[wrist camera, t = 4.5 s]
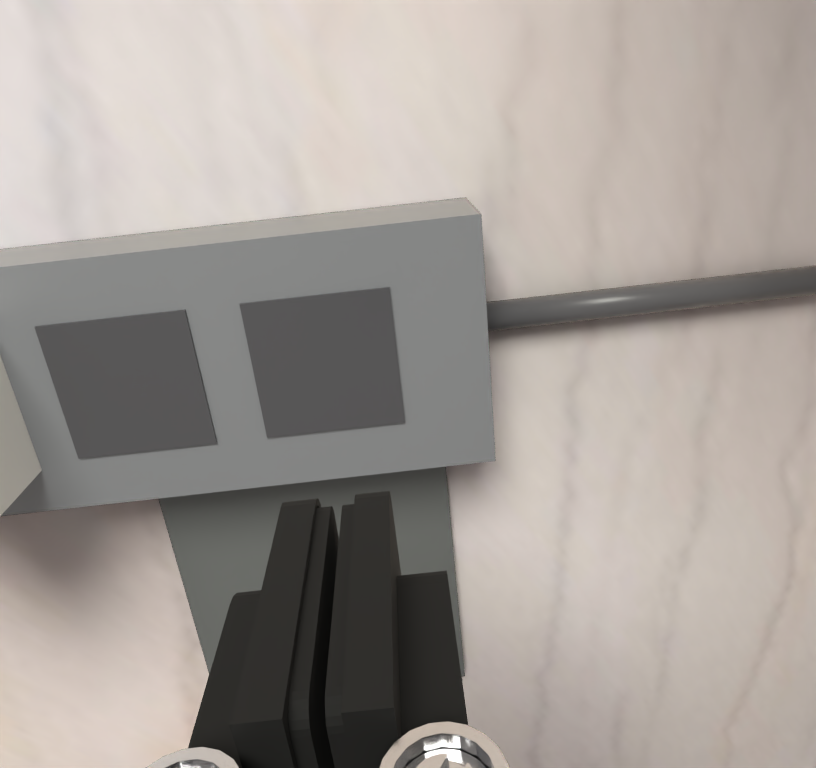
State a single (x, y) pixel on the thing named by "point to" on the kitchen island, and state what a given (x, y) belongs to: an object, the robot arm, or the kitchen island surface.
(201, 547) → the mat
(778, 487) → the kitchen island surface
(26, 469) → the block
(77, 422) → the power strip
